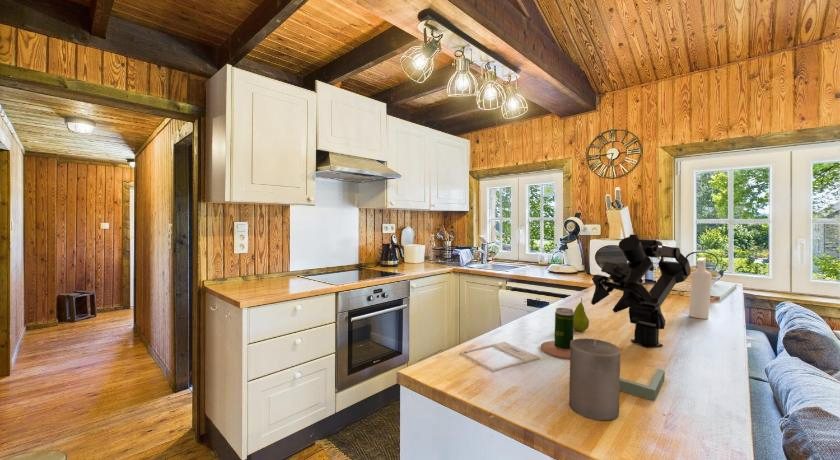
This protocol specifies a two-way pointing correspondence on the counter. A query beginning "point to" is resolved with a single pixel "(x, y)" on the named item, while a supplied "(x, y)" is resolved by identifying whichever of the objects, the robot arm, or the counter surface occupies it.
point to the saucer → (554, 350)
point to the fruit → (580, 318)
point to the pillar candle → (594, 379)
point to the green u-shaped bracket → (644, 386)
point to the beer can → (563, 328)
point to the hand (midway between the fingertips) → (602, 307)
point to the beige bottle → (700, 291)
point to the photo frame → (508, 349)
